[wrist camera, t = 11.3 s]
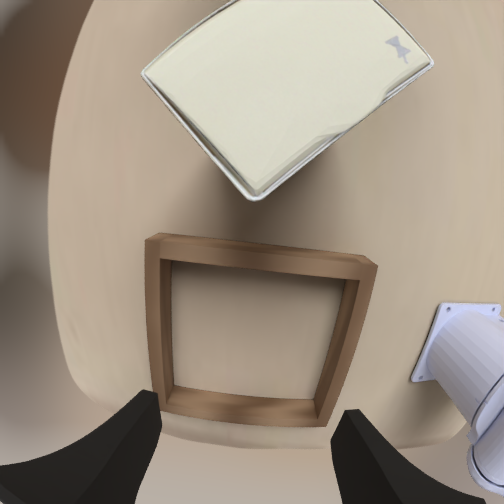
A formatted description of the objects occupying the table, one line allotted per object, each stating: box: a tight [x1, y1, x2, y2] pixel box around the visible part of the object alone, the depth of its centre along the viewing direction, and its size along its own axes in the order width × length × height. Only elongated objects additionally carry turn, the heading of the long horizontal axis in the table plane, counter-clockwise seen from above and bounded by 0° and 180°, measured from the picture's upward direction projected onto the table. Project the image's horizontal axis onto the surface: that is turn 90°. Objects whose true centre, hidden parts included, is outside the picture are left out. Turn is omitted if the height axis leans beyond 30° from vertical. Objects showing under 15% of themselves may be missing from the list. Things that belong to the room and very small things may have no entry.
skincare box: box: [141, 0, 434, 202], centre depth 10 cm, size 6×4×12 cm
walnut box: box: [145, 233, 378, 427], centre depth 18 cm, size 14×14×2 cm
